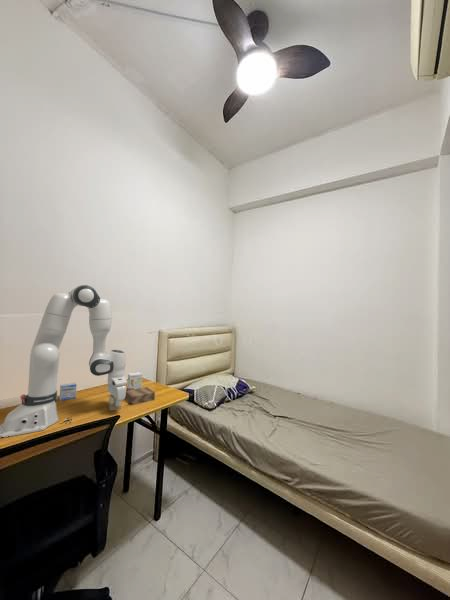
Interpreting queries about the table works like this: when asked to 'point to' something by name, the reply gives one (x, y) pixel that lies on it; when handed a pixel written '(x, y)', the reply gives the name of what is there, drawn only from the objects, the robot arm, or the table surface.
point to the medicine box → (67, 391)
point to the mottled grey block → (113, 403)
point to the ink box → (134, 381)
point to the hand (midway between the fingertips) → (115, 403)
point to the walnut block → (139, 395)
